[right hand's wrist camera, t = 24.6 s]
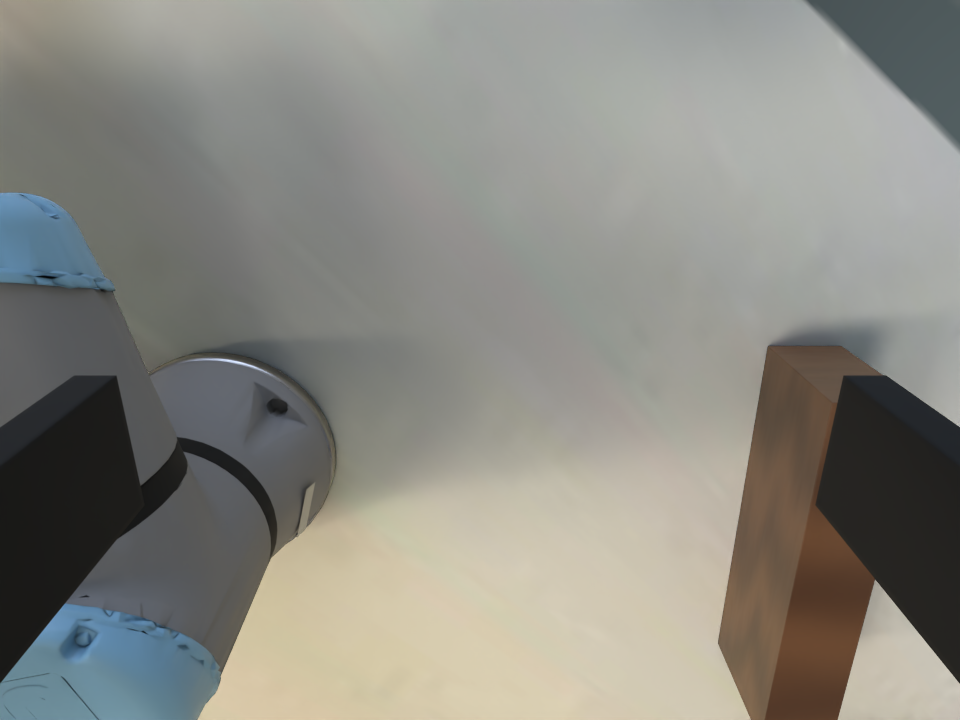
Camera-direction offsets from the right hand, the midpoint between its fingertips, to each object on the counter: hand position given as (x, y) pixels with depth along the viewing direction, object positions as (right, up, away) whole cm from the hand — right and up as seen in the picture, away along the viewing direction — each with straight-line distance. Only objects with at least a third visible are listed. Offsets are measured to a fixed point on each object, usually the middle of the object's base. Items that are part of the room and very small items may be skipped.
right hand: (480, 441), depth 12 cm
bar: (+22, -10, +38) cm, 45 cm away
